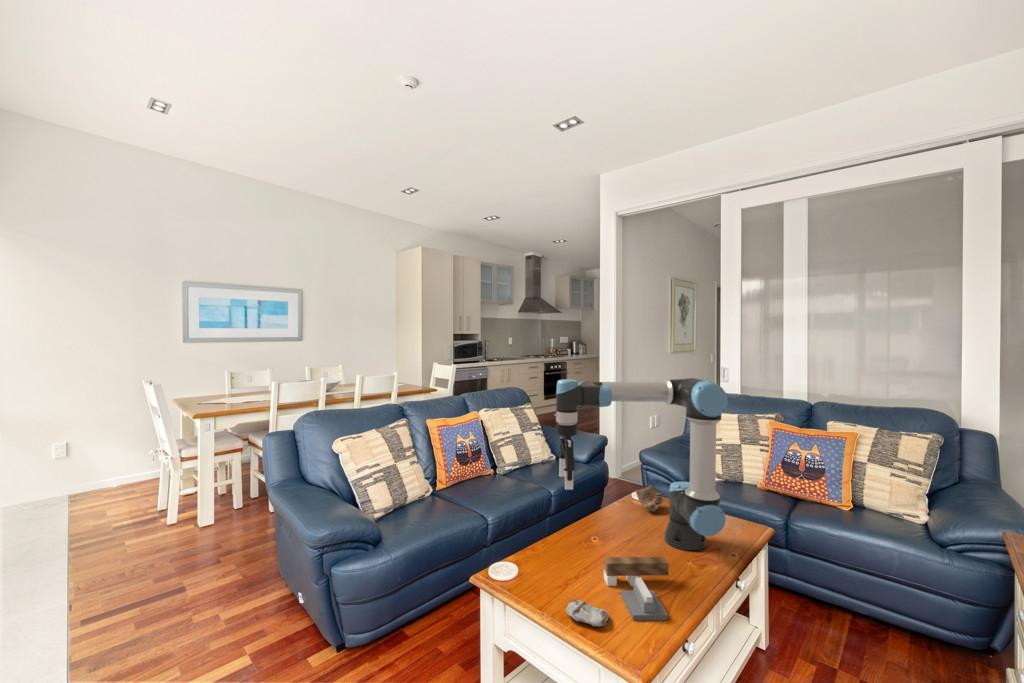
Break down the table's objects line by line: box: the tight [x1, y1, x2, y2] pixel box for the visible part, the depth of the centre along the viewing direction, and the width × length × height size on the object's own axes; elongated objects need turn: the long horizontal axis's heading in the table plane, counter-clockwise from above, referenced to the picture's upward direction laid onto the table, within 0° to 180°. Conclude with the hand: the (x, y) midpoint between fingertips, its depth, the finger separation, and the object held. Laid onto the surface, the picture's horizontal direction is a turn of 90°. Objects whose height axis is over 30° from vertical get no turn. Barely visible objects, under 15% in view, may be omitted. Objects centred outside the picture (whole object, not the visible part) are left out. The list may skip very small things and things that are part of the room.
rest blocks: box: [603, 569, 641, 587], centre depth 143 cm, size 10×5×3 cm, turn 92°
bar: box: [603, 556, 670, 577], centre depth 143 cm, size 20×4×4 cm, turn 92°
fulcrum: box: [620, 577, 669, 621], centre depth 130 cm, size 10×12×6 cm
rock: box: [635, 484, 664, 513], centre depth 202 cm, size 12×12×10 cm
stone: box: [565, 599, 610, 628], centre depth 125 cm, size 12×9×3 cm
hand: (565, 482), depth 156 cm, fingers open, 13 cm apart
